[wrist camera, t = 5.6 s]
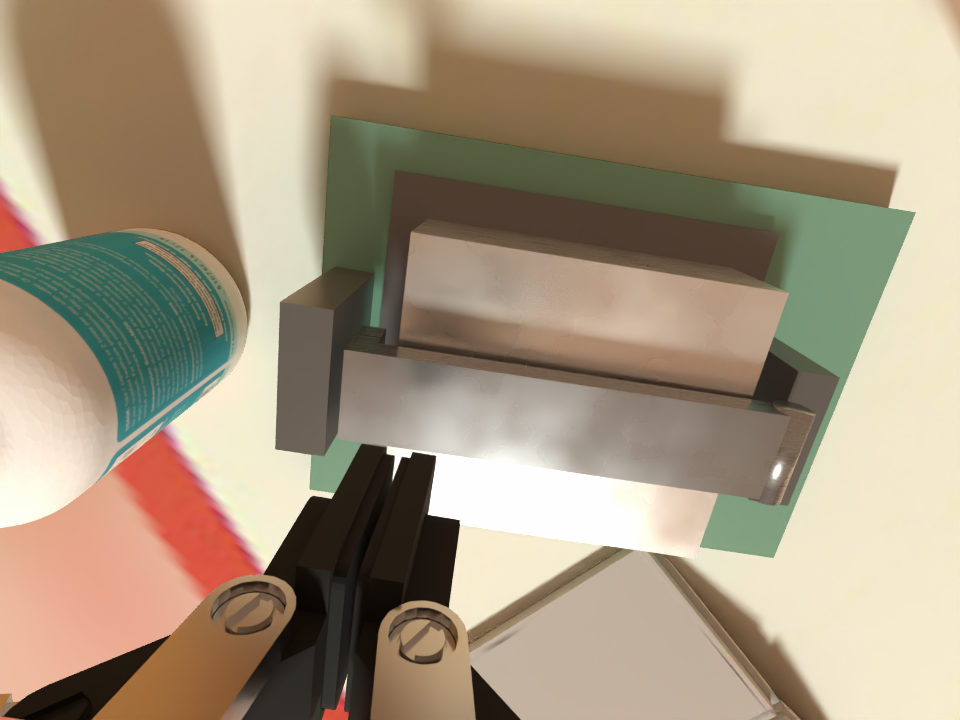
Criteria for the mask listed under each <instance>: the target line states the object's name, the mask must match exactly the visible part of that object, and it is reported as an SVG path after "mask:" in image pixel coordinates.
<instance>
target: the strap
mask: <svg viewBox="0 0 960 720" xmlns="http://www.w3.org/2000/svg"><path fill="white" fill-rule="evenodd" d="M385 337H386V329H385V328H379V327H372V326H365V325H363V326H362V327H361V328H360V330H359V331H358V332H357V333H356V335H355V336H354V337H353V339H352V340H351V341H350V343H349V344H348V345H347V347H346V348H345V349H344V358H343V371H342V384H341V398H340V411H339V424H338V438H337V439H340V440H347V441H354V442H361V443H368V444H375V445H382V446H389V447H396V448H403V449H410V450H417V451H424V452H431V453H438V454H445V455H451V456H458V457H465V458H472V459H479V460H486V461H493V462H500V463H507V464H514V465H521V466H528V467H535V468H542V469H549V470H556V471H563V472H570V473H577V474H584V475H591V476H598V477H605V478H612V479H619V480H626V481H633V482H640V483H647V484H654V485H661V486H668V487H675V488H682V489H689V490H696V491H703V492H710V493H717V494H724V495H731V496H738V497H745V498H751V499H753V500H755V501H757V502H759V503H762V504H765V505H771V506H776V505H779V504H780V503H781V500H782V498H783V495H784V493H785V490H786V488H787V485H788V483H789V480H790V478H791V475H792V473H793V470H794V468H795V465H796V463H797V460H798V458H799V455H800V453H801V450H802V448H803V445H804V443H805V440H806V438H807V435H808V433H809V430H810V428H811V425H812V423H813V420H814V418H815V415H816V414H815V413H814V412H813V411H812V410H810V409H809V408H807V407H805V406H802V405H800V404H797V403H794V402H790V401H785V400H775V401H774V402H773V403H771V402H765V401H758V400H751V399H745V398H738V397H732V396H725V395H718V394H712V393H705V392H698V391H692V390H685V389H678V388H672V387H665V386H658V385H652V384H645V383H638V382H632V381H625V380H619V379H612V378H605V377H599V376H592V375H585V374H579V373H572V372H565V371H559V370H552V369H545V368H539V367H532V366H526V365H519V364H512V363H506V362H499V361H492V360H486V359H479V358H472V357H466V356H459V355H452V354H446V353H439V352H432V351H426V350H419V349H413V348H406V347H399V346H393V345H386V344H385Z"/></svg>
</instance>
